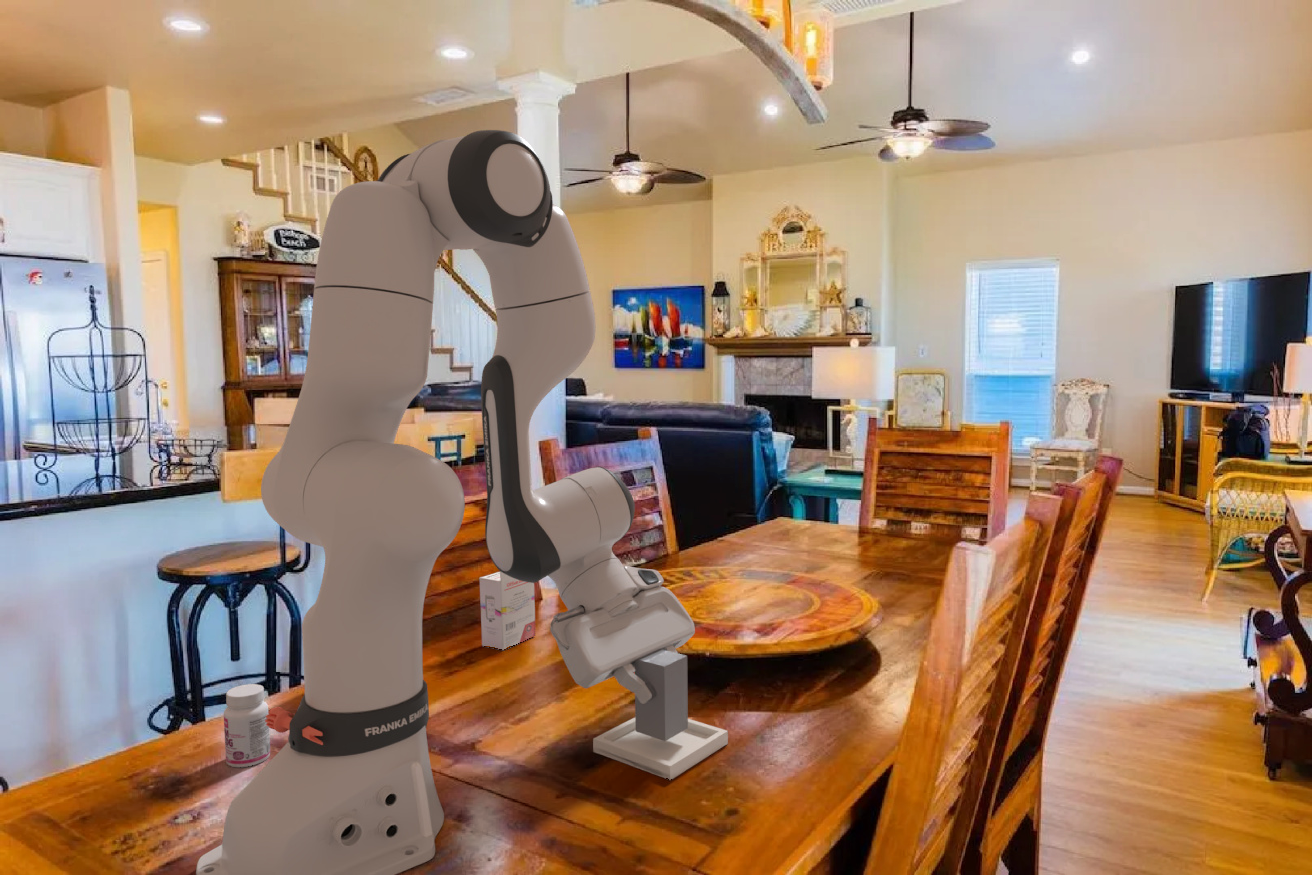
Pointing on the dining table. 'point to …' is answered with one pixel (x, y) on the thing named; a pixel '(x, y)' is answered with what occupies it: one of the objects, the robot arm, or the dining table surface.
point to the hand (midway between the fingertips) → (665, 691)
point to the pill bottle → (246, 726)
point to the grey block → (663, 695)
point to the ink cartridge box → (506, 610)
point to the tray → (661, 747)
